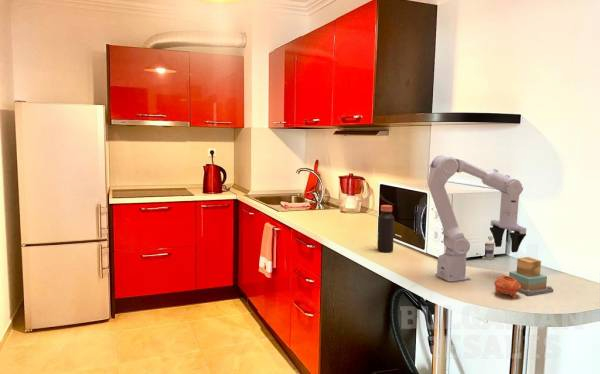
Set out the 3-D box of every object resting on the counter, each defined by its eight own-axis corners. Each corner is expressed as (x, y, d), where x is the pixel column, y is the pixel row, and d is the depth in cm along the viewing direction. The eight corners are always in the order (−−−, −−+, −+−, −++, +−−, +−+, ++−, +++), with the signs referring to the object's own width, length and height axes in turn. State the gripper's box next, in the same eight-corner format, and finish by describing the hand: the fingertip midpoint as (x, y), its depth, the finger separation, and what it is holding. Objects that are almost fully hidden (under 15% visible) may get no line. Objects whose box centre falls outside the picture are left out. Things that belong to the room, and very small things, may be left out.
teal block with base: (528, 296, 146) (529, 281, 145) (501, 285, 156) (502, 271, 156) (553, 291, 150) (554, 277, 149) (525, 281, 160) (526, 267, 160)
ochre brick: (528, 277, 149) (529, 262, 149) (516, 272, 154) (517, 258, 153) (540, 275, 151) (541, 260, 150) (527, 271, 156) (528, 256, 155)
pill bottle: (481, 255, 194) (483, 232, 193) (495, 257, 190) (496, 234, 189) (477, 257, 190) (479, 235, 188) (491, 260, 186) (492, 237, 185)
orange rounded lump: (495, 287, 153) (502, 269, 151) (519, 298, 148) (526, 280, 146) (487, 293, 147) (494, 274, 145) (512, 304, 142) (519, 285, 140)
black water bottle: (380, 248, 204) (381, 204, 202) (395, 250, 201) (396, 205, 198) (374, 251, 199) (376, 206, 196) (389, 253, 195) (391, 207, 193)
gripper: (534, 215, 157) (531, 253, 158) (502, 208, 170) (499, 243, 172) (518, 216, 154) (515, 255, 156) (487, 209, 168) (484, 245, 169)
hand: (506, 249), depth 164 cm, fingers open, 7 cm apart
